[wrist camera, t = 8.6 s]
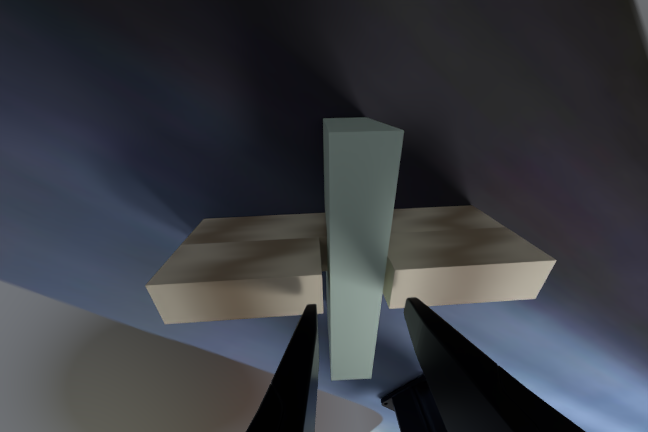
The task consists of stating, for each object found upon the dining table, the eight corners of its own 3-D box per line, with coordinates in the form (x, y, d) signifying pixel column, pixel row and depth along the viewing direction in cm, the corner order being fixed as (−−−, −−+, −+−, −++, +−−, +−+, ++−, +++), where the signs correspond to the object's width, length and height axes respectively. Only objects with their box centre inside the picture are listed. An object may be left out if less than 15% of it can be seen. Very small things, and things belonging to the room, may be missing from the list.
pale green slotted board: (322, 118, 13) (329, 132, 7) (366, 117, 13) (404, 130, 7) (326, 301, 19) (331, 380, 14) (355, 300, 19) (371, 378, 14)
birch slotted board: (471, 205, 16) (556, 260, 10) (462, 235, 17) (535, 298, 11) (203, 218, 15) (144, 285, 10) (212, 249, 16) (165, 324, 11)
